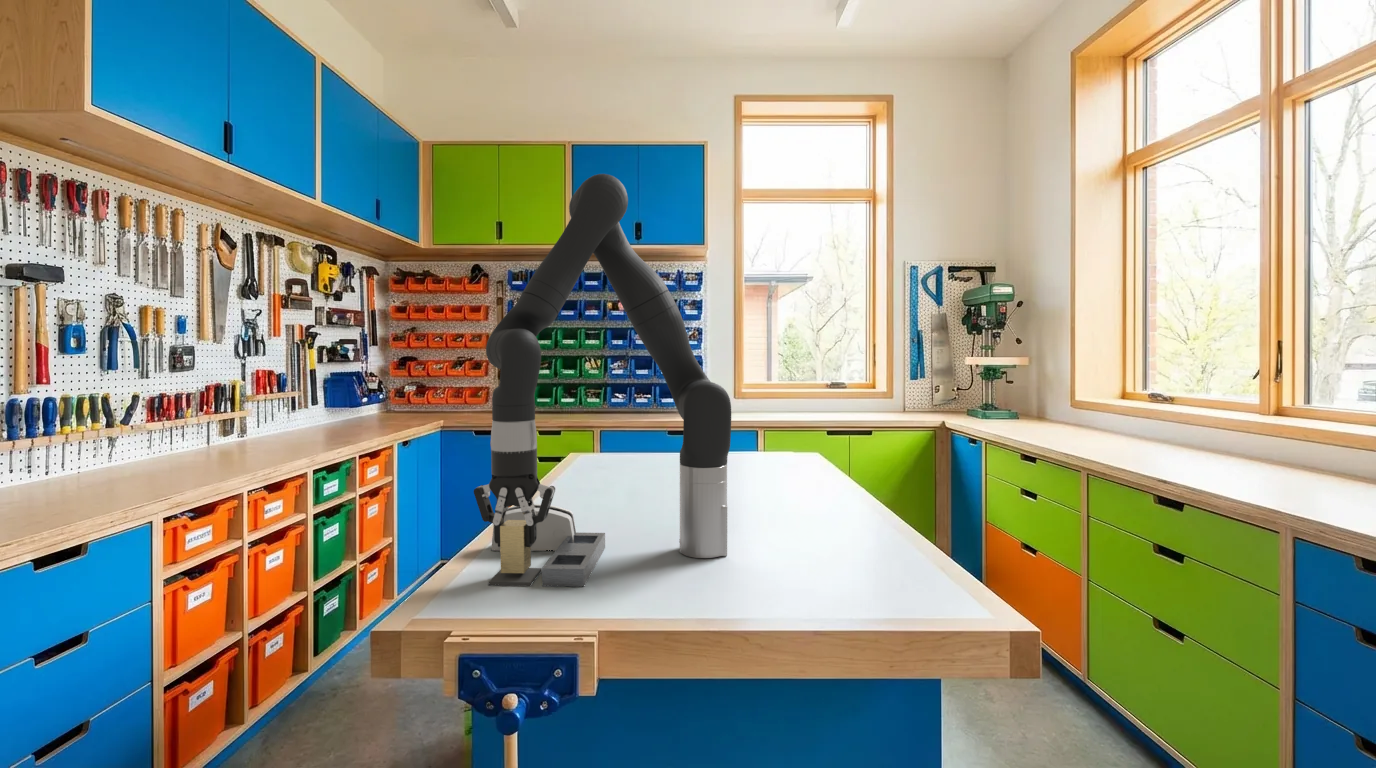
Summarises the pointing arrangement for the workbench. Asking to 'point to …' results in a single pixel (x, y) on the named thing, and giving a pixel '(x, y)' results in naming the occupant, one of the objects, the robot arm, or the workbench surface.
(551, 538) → the white arched device
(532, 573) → the pad
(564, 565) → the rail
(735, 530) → the workbench surface
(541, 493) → the robot arm
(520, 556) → the tan wooden beam
